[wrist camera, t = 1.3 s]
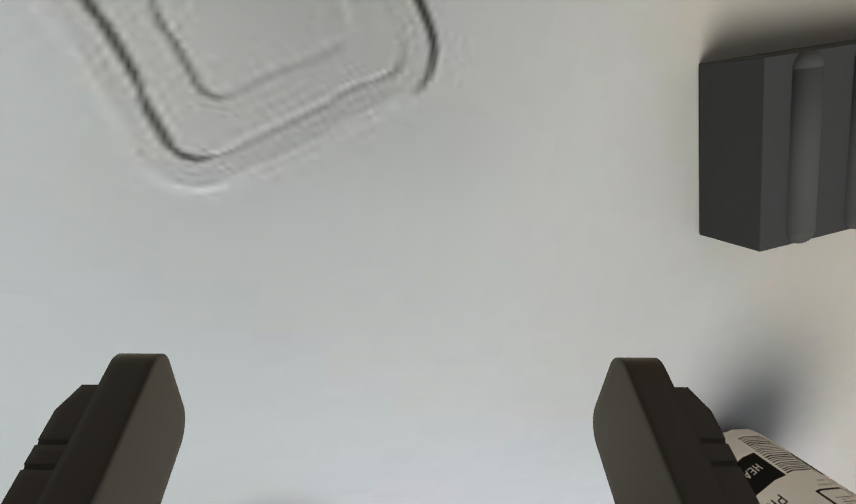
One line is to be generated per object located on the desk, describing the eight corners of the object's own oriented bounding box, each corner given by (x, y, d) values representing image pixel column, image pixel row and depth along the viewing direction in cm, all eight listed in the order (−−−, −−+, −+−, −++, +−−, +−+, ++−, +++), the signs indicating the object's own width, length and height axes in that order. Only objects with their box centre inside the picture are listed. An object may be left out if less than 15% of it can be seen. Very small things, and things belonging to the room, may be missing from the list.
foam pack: (698, 63, 32) (779, 55, 27) (875, 36, 35) (977, 24, 30) (699, 234, 35) (772, 255, 30) (863, 195, 38) (954, 208, 33)
